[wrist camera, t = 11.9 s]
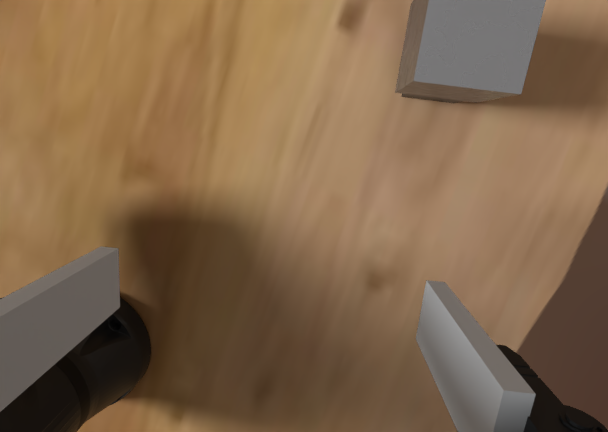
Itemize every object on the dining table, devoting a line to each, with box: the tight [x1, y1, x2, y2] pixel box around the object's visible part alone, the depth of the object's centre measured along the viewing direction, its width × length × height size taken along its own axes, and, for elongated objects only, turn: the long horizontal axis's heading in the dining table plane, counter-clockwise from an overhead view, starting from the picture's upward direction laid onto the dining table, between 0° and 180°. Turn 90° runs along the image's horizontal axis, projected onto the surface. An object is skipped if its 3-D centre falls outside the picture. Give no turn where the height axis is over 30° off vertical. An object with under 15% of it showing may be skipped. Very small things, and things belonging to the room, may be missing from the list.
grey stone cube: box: [395, 0, 546, 103], centre depth 27 cm, size 7×7×8 cm
